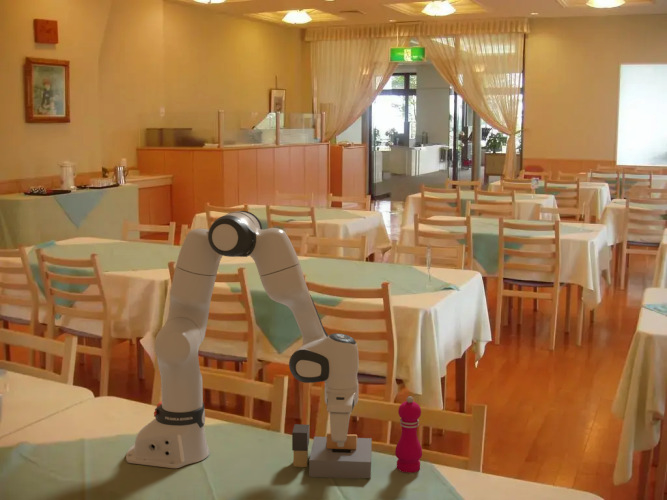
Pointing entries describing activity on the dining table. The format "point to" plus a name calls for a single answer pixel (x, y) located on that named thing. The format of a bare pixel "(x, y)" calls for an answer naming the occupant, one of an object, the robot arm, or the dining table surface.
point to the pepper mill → (409, 437)
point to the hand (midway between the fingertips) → (340, 445)
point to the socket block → (340, 460)
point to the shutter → (348, 444)
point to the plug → (300, 444)
